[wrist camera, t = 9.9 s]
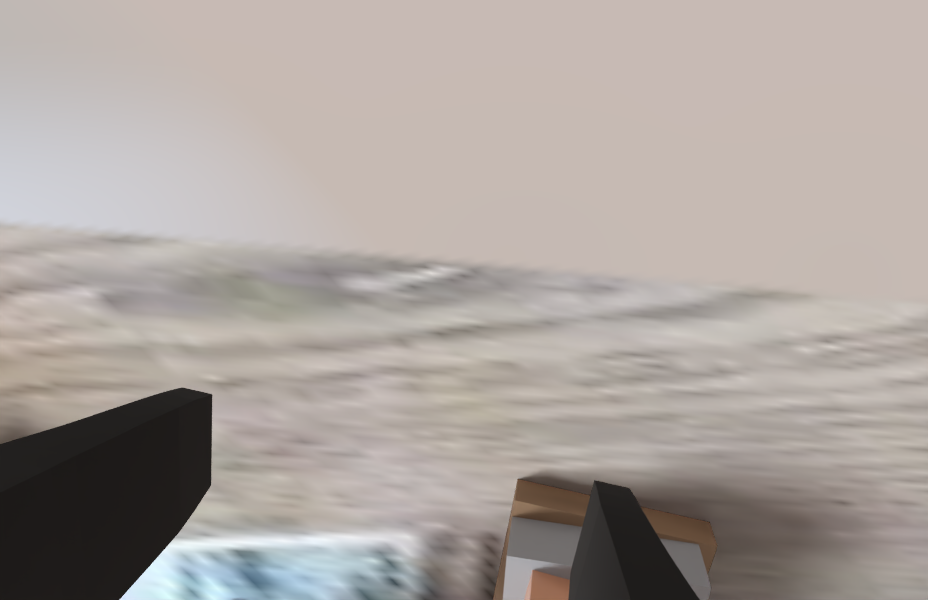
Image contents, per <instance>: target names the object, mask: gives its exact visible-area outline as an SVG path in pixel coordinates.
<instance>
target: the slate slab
mask: <svg viewBox="0 0 928 600" xmlns="http://www.w3.org/2000/svg"><path fill="white" fill-rule="evenodd" d="M581 530H582V527H580V526H573V525H566V524H560V523H553V522H546V521H539V520H533V519H526V518H519V517H512V521H511V528H510V535H509V543H508V550H507V558H506V569H505V580H504V591H503V600H524V597H525V594H526V590H527V587H528V584H529V580H530V577H531V573H532V570H536V571H539V572H543V573H547V574H550V575H554V576H557V577H561V578H565V579H568V580H570V572H571V568H572V564H573V560H574V556H575V553H576V549H577V545H578V541H579V537H580V533H581ZM660 540H661V542H662V543H663V545H664V546H665V548H666V550H667V551H668V553H669V554H670V556H671V558H672V559H673V561H674V562H675V564H676V565H677V567H678V568H679V570H680V571H681V573H682V574H683V576H684V577H685V579H686V580H687V582H688V583H689V585H690V586H691V588H692V589H693V591H694V592H695V593H696V595H697V596H698V598H699V599H700V600H709V596H710V591H711V585H710V582H709V578H708V575H707V571H706V568H705V564H704V561H703V557H702V554H701V550H700V547H699V544H694V543H687V542H681V541H674V540H667V539H661V538H660Z"/></svg>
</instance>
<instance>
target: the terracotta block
mask: <svg viewBox="0 0 928 600" xmlns="http://www.w3.org/2000/svg"><path fill="white" fill-rule="evenodd" d="M569 584H570V580H568V579H565V578H561V577H557V576H554V575H550V574H547V573H543V572H539V571H536V570H532V573H531V577H530V580H529V584H528V587H527V590H526V594H525V597H524V600H568V599H569Z"/></svg>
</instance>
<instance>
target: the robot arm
mask: <svg viewBox="0 0 928 600" xmlns="http://www.w3.org/2000/svg"><path fill="white" fill-rule="evenodd" d="M211 446H212V394H208V393H204V392H200V391H195V390H191V389H186V388H179V389H174V390H170V391H167V392H163V393H160V394H156V395H153V396H150V397H147V398H144V399H141V400H138V401H135V402H132V403H129V404H126V405H123V406H120V407H117V408H114V409H111V410H108V411H105V412H102V413H99V414H96V415H93V416H90V417H87V418H84V419H81V420H78V421H75V422H72V423H69V424H66V425H63V426H59V427H56V428H53V429H50V430H46V431H43V432H40V433H36V434H33V435H30V436H26V437H23V438H20V439H16V440H13V441H10V442H7V443H3V444H0V600H119V599H120V598H121V597H122V596H123V595H124V594H125V593H126V592H127V590H128V589H129V588H130V587H131V586H132V585H133V584H134V583H135V582H136V580H137V579H138V578H139V577H140V576H141V575H142V574H143V573H144V571H145V570H146V569H147V568H148V567H149V566H150V565H151V564H152V562H153V561H154V560H155V559H156V558H157V557H158V556H159V555H160V553H161V552H162V551H163V550H164V549H165V548H166V547H167V545H168V544H169V543H170V542H171V541H172V540H173V539H174V537H175V536H176V535H177V534H178V533H179V532H180V530H181V529H182V527H183V526H184V525H185V523H186V522H187V520H188V519H189V518H190V516H191V515H192V513H193V512H194V510H195V509H196V507H197V506H198V504H199V503H200V501H201V500H202V498H203V497H204V495H205V494H206V492H207V491H208V489H209V488H210V486H211ZM568 600H700V599H699V598H698V596H697V595H696V593H695V592H694V591H693V589H692V588H691V586H690V585H689V583H688V582H687V580H686V579H685V577H684V576H683V574H682V573H681V571H680V570H679V568H678V567H677V565H676V564H675V562H674V561H673V559H672V558H671V556H670V554H669V553H668V551H667V550H666V548H665V546H664V545H663V543H662V542H661V540H660V538H659V537H658V535H657V533H656V532H655V530H654V528H653V527H652V525H651V523H650V522H649V520H648V518H647V517H646V515H645V513H644V512H643V510H642V508H641V506H640V505H639V503H638V501H637V500H636V498H635V496H634V495H633V493H632V492H631V490H630V489H629V488H626V487H621V486H617V485H612V484H608V483H604V482H599V481H595V480H594V484H593V488H592V491H591V495H590V499H589V503H588V507H587V511H586V514H585V518H584V522H583V526H582V530H581V533H580V537H579V541H578V545H577V549H576V553H575V556H574V560H573V564H572V568H571V572H570V584H569V599H568Z"/></svg>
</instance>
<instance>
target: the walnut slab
mask: <svg viewBox="0 0 928 600" xmlns="http://www.w3.org/2000/svg"><path fill="white" fill-rule="evenodd" d="M589 499H590V495H586V494H582V493H578V492H573V491H569V490H564V489H560V488H555V487H551V486H546V485H542V484H537V483H533V482H529V481H524V480H520V479H518V481H517V485H516V490H515V495H514V500H513V505H512V510H511V514H510V519H509V524H508V529H507V534H506V539H505V543H504V548H503V553H502V558H501V563H500V568H499V572H498V577H497V582H496V587H495V592H494V597H493V600H503V591H504V580H505V569H506V558H507V550H508V543H509V535H510V528H511V521H512V517H519V518H526V519H533V520H539V521H546V522H553V523H560V524H566V525H573V526H580V527H582V526H583V522H584V518H585V514H586V511H587V507H588V503H589ZM641 508H642V510H643V512H644V513H645V515H646V517H647V518H648V520H649V522H650V523H651V525H652V527H653V528H654V530H655V532H656V533H657V535H658V537H659V538H661V539H667V540H674V541H681V542H687V543H694V544H699V547H700V550H701V554H702V557H703V561H704V564H705V568H706V571H707V575H708V572H709V569H710V567H711V564H712V561H713V558H714V555H715V552H716V549H717V547H718V546H717V543H716V540H715V537H714V534H713V531H712V528H711V525H710V522H706V521H702V520H698V519H693V518H689V517H684V516H680V515H675V514H671V513H666V512H662V511H658V510H653V509H649V508H644V507H641Z"/></svg>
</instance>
